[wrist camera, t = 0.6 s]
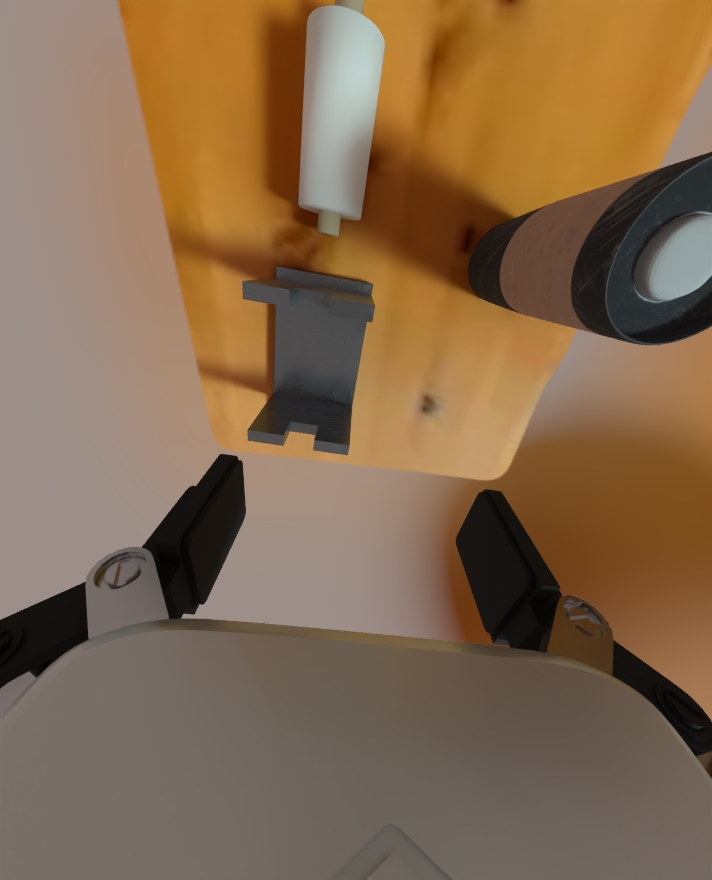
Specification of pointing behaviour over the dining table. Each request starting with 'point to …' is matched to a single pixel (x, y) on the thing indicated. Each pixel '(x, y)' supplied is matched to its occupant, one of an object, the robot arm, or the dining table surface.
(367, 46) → the paper roll
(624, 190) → the travel mug
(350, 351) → the roll holder
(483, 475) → the dining table surface
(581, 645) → the robot arm
